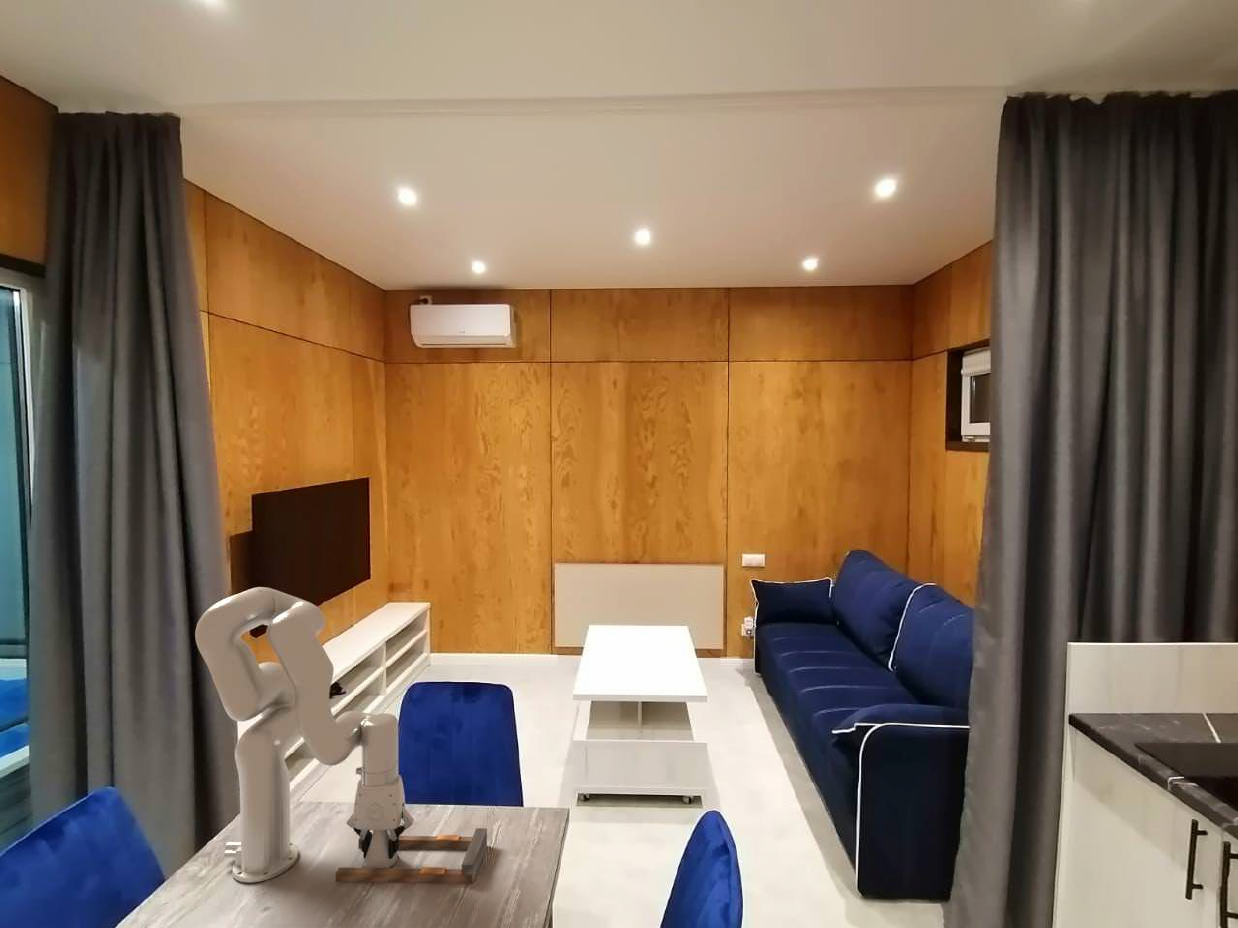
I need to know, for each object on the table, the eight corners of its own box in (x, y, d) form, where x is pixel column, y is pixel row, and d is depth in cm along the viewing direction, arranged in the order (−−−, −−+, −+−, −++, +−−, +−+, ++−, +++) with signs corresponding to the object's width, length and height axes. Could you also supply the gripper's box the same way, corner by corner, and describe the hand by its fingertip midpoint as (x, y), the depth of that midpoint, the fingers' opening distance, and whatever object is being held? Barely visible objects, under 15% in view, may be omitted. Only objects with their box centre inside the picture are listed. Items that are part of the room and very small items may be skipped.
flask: (385, 875, 131) (385, 829, 131) (355, 870, 132) (355, 825, 132) (404, 854, 138) (404, 810, 138) (375, 849, 139) (375, 806, 139)
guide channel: (335, 881, 129) (335, 862, 129) (361, 843, 142) (361, 826, 142) (473, 883, 129) (473, 864, 128) (487, 845, 141) (487, 828, 141)
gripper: (333, 781, 131) (334, 865, 132) (412, 782, 131) (412, 866, 131) (349, 763, 139) (350, 843, 139) (424, 764, 138) (424, 844, 139)
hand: (380, 853), depth 135 cm, fingers closed on flask, 4 cm apart
